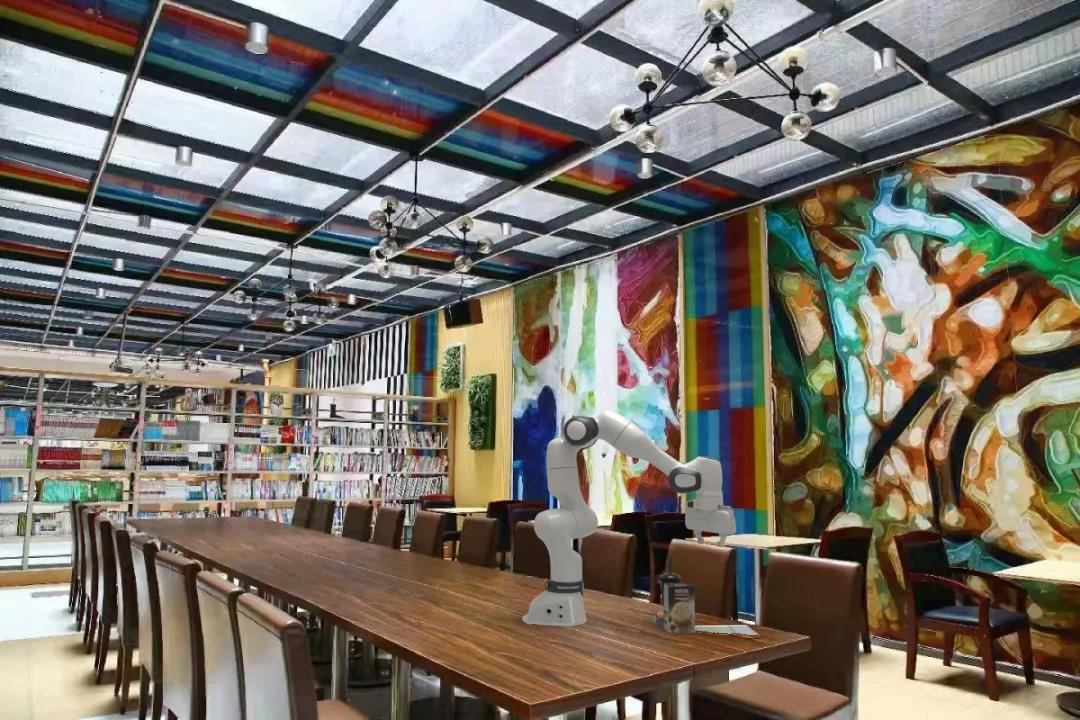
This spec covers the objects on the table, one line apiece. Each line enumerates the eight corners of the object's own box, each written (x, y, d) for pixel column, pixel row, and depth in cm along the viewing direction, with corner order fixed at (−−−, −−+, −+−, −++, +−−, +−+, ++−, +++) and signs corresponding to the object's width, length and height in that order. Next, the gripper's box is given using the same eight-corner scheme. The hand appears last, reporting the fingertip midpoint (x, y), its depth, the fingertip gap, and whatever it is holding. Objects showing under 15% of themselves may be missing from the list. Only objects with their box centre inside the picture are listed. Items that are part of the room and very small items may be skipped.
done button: (658, 620, 254) (658, 613, 254) (656, 618, 257) (656, 611, 257) (666, 620, 254) (666, 613, 254) (665, 618, 257) (664, 611, 257)
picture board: (700, 639, 238) (700, 637, 238) (688, 627, 253) (688, 625, 253) (761, 638, 239) (761, 636, 239) (746, 626, 254) (746, 624, 254)
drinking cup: (683, 612, 274) (682, 557, 276) (678, 617, 267) (677, 560, 269) (663, 610, 277) (662, 556, 279) (658, 614, 270) (657, 559, 272)
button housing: (654, 627, 252) (654, 619, 252) (651, 623, 258) (651, 615, 258) (672, 627, 252) (672, 619, 252) (668, 623, 258) (668, 615, 258)
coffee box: (668, 636, 241) (667, 586, 243) (663, 631, 248) (662, 582, 249) (695, 635, 242) (694, 586, 244) (689, 630, 249) (689, 582, 250)
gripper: (739, 505, 243) (740, 548, 242) (694, 501, 260) (695, 541, 259) (726, 506, 240) (727, 550, 238) (682, 502, 257) (682, 542, 255)
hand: (710, 545), depth 249 cm, fingers open, 8 cm apart
